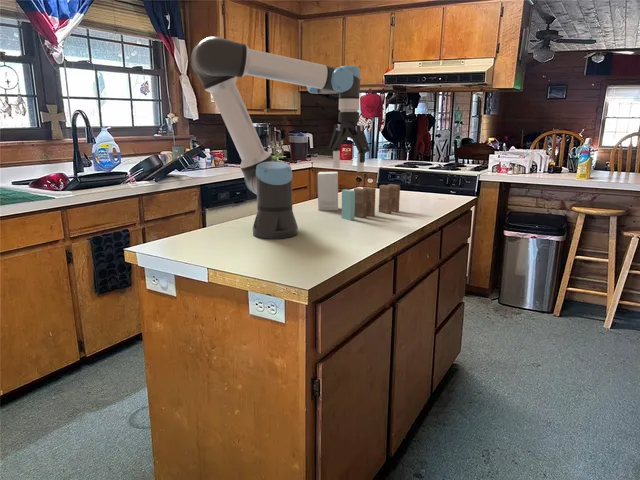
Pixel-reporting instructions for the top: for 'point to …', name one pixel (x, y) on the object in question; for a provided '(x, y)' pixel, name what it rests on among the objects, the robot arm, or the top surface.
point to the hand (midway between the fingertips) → (347, 169)
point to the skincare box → (327, 190)
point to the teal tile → (348, 204)
